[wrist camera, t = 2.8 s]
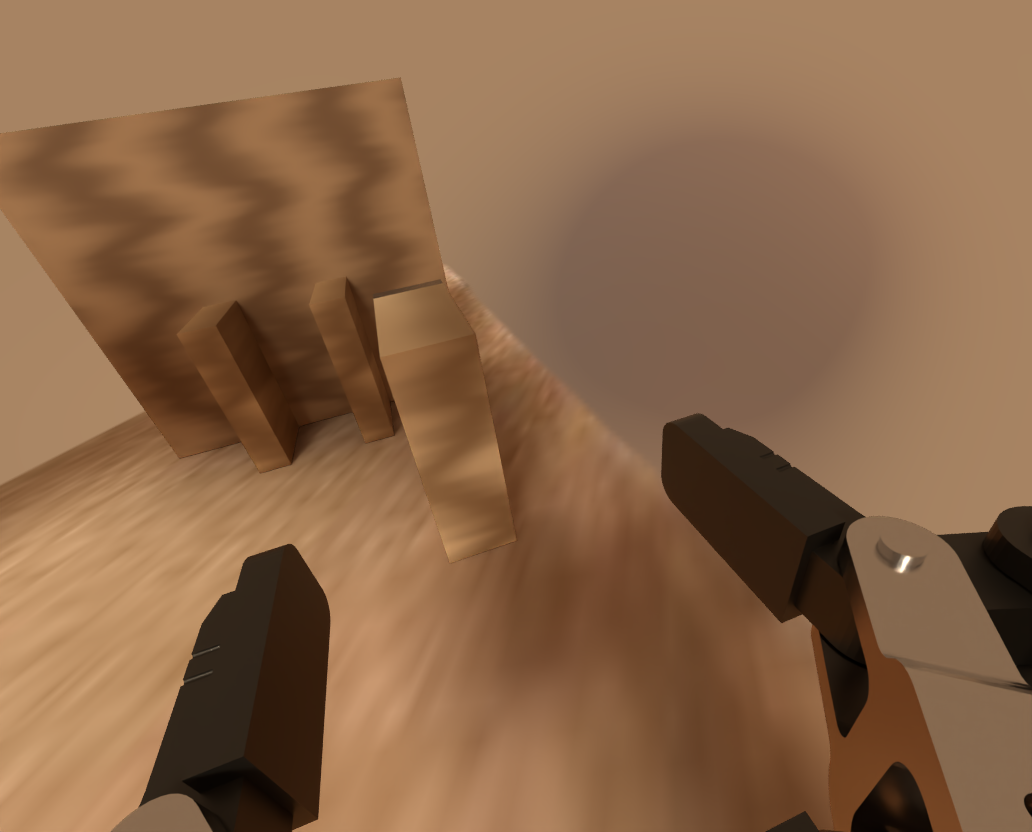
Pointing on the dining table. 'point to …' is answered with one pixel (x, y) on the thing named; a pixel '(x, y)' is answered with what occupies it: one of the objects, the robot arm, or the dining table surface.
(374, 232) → the zigzag wooden panel
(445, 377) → the rail end
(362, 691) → the dining table surface
